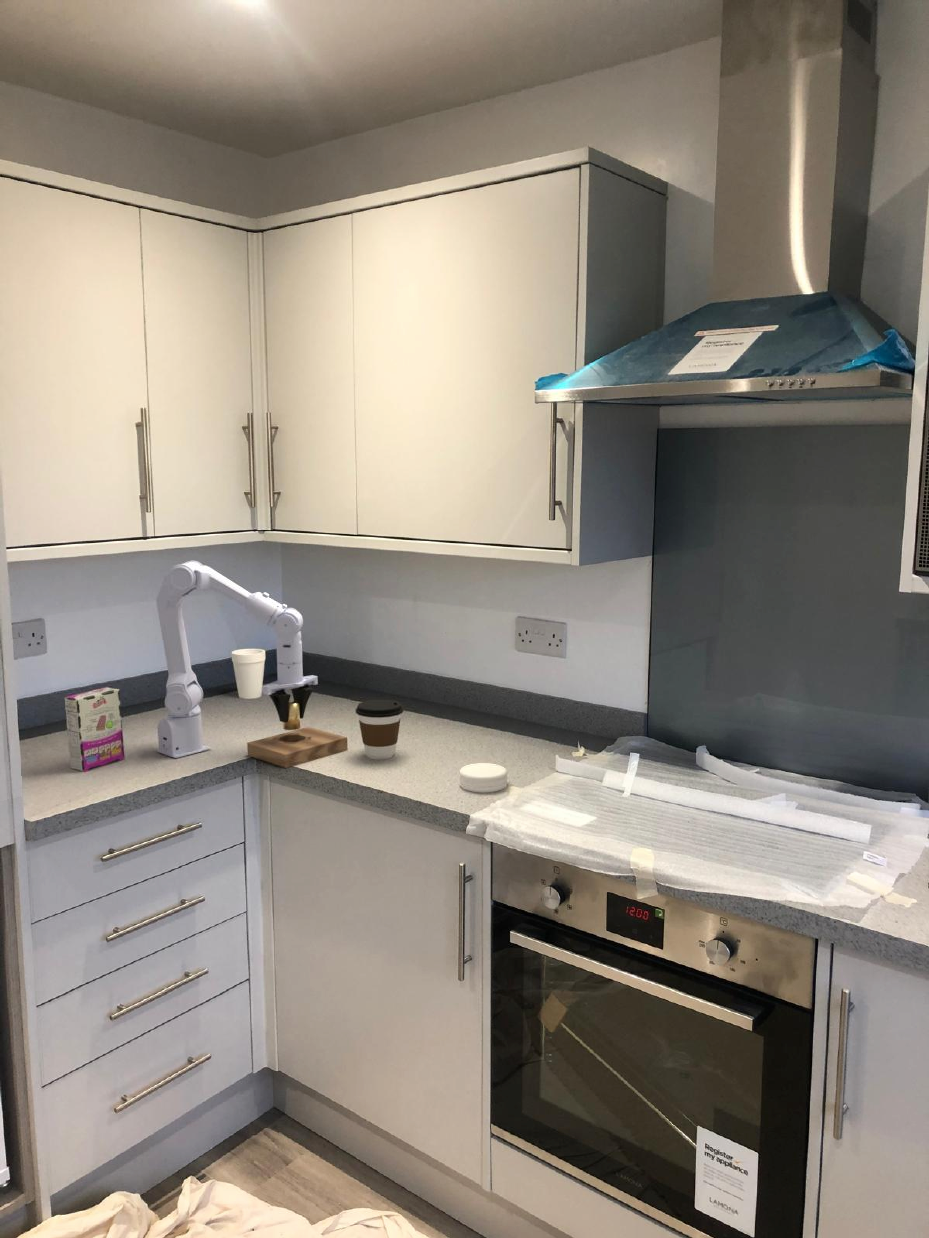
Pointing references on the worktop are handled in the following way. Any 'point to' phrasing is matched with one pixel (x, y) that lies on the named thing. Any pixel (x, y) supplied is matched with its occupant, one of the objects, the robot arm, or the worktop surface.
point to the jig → (297, 746)
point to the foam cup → (249, 672)
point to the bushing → (293, 716)
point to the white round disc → (483, 777)
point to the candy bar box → (94, 728)
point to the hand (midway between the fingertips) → (291, 719)
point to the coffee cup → (379, 727)
